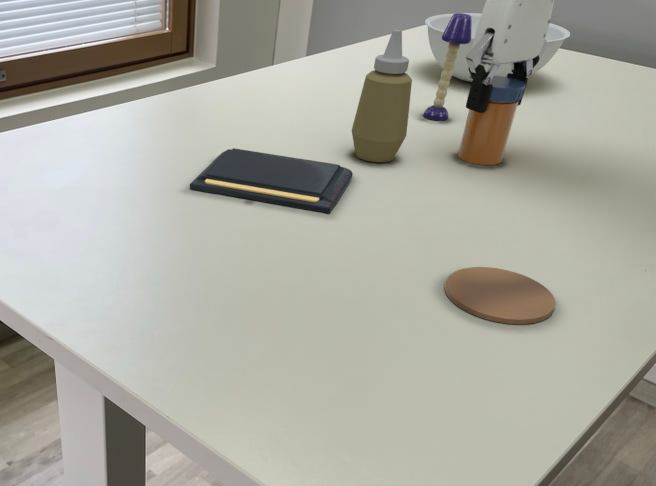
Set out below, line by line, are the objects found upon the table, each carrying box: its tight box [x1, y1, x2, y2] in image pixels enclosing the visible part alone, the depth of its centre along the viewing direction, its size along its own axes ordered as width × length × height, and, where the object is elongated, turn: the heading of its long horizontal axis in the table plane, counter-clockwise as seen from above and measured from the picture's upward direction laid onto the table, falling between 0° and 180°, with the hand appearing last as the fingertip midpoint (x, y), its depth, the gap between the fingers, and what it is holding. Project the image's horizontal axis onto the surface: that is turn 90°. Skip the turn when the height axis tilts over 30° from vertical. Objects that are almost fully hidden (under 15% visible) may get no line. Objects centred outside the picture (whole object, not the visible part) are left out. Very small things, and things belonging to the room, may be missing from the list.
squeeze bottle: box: [351, 29, 413, 163], centre depth 105 cm, size 8×8×18 cm
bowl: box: [424, 12, 571, 83], centre depth 146 cm, size 27×27×10 cm
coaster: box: [444, 266, 556, 325], centre depth 77 cm, size 11×11×1 cm
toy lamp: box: [423, 12, 472, 121], centre depth 122 cm, size 5×5×17 cm
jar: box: [457, 100, 519, 166], centre depth 108 cm, size 6×6×11 cm
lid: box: [489, 76, 526, 102], centre depth 105 cm, size 7×7×2 cm
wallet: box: [189, 147, 354, 214], centre depth 101 cm, size 20×2×15 cm
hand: (493, 105), depth 107 cm, fingers closed on lid, 6 cm apart
